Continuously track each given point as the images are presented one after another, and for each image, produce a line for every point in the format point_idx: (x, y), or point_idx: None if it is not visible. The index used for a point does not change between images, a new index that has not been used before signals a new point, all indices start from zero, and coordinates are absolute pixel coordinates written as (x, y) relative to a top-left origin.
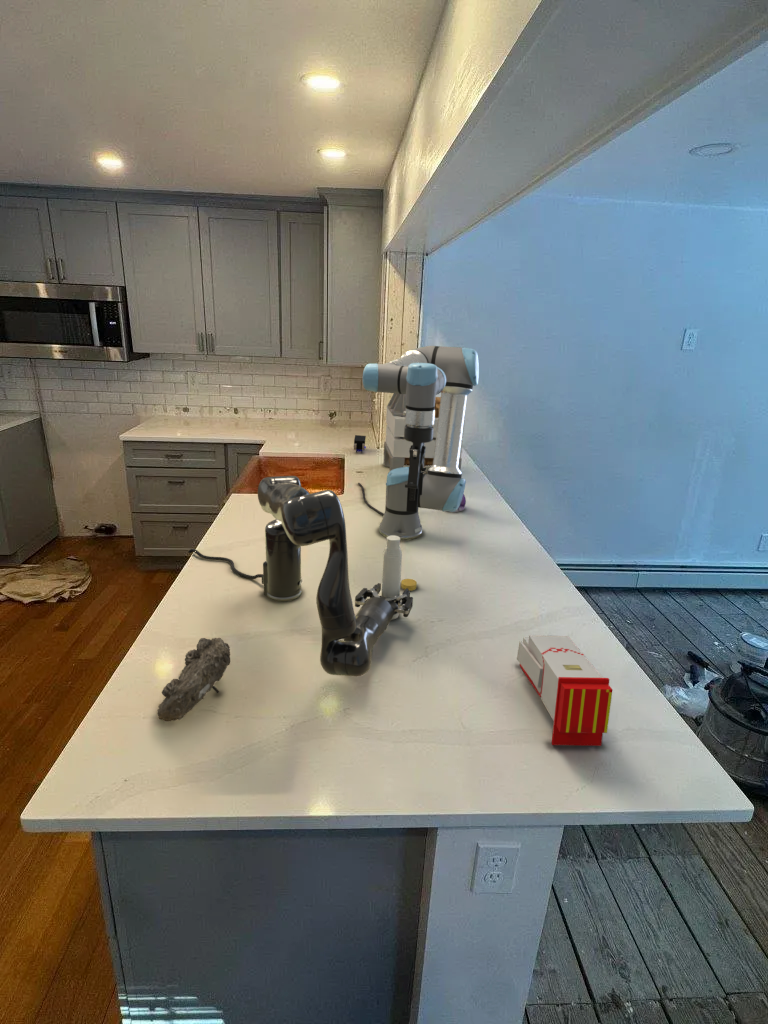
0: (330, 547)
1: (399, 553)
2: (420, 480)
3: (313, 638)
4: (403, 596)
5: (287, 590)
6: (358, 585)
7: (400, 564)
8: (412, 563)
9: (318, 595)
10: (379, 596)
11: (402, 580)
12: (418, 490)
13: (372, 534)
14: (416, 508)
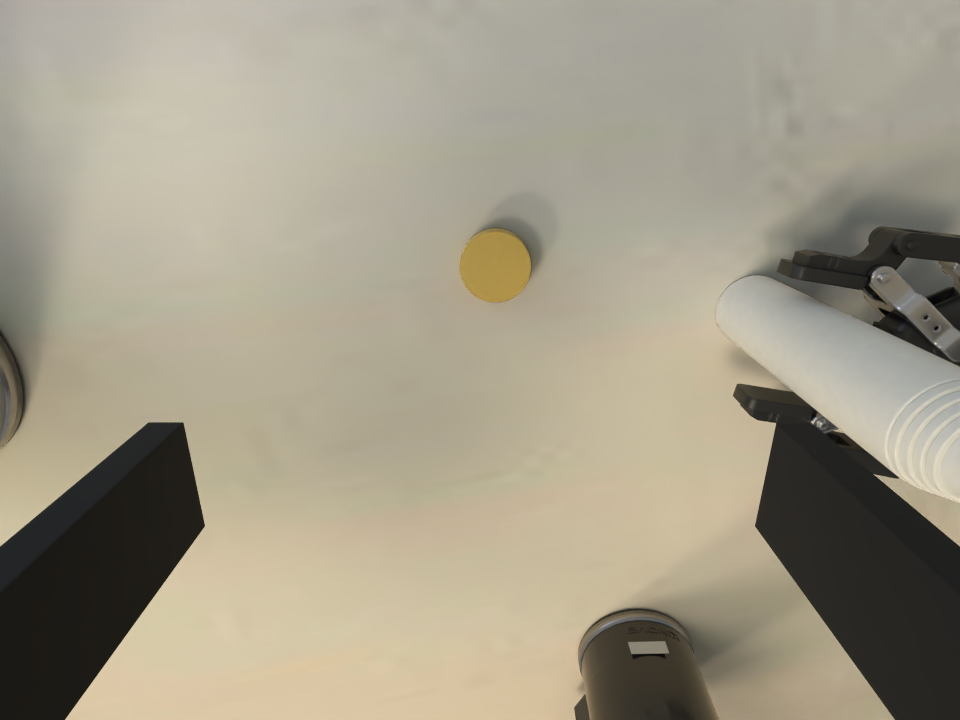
0: None
1: None
2: (49, 590)
3: None
4: (895, 281)
5: (697, 664)
6: (526, 454)
7: (940, 358)
8: (248, 272)
9: None
10: None
11: (485, 298)
12: (160, 496)
13: (15, 482)
14: (838, 449)
